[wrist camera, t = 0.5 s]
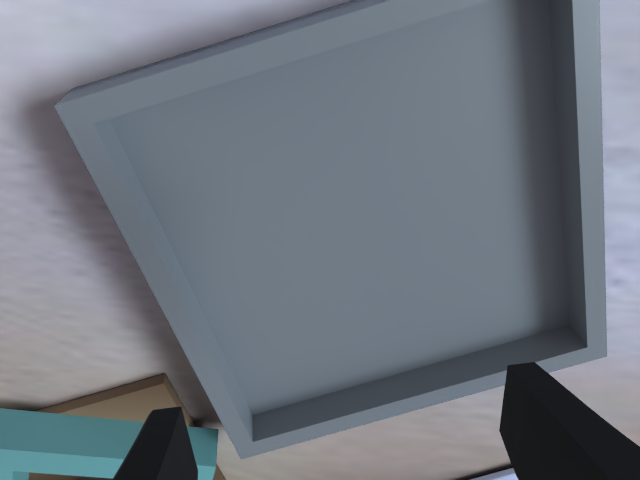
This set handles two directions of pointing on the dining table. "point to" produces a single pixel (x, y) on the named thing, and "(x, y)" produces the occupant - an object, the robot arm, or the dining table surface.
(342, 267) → the tray
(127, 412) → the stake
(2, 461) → the collar
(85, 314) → the dining table surface
